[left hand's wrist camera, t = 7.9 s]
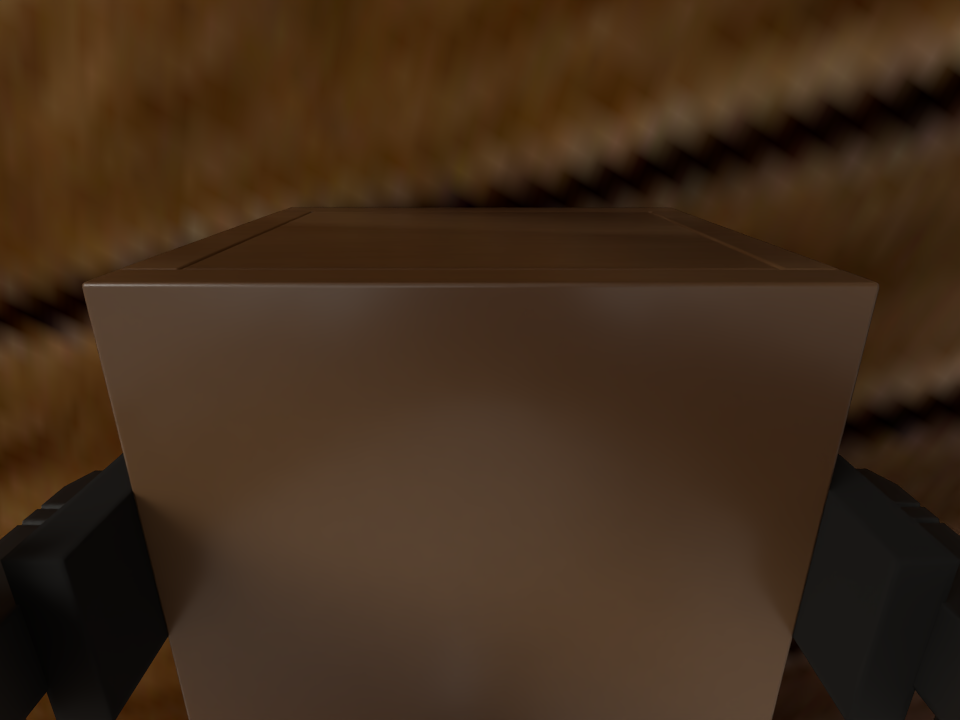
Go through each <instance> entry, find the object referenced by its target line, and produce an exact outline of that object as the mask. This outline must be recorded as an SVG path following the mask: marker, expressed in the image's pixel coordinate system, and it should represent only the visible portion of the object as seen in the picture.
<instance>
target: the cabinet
mask: <svg viewBox="0 0 960 720" xmlns="http://www.w3.org/2000/svg"><path fill="white" fill-rule="evenodd" d="M82 288H83V292H84V296H85V300H86V304H87V309H88V313H89V317H90V321H91V325H92V329H93V333H94V337H95V341H96V345H97V349H98V353H99V357H100V361H101V365H102V369H103V373H104V377H105V381H106V386H107V390H108V394H109V398H110V402H111V406H112V410H113V414H114V418H115V422H116V426H117V430H118V434H119V438H120V442H121V446H122V450H123V454H124V458H125V462H126V467H127V471H128V475H129V479H130V483H131V487H132V491H133V495H134V499H135V503H136V507H137V511H138V515H139V519H140V523H141V527H142V531H143V535H144V539H145V543H146V548H147V552H148V556H149V560H150V564H151V568H152V572H153V576H154V580H155V584H156V588H157V592H158V596H159V600H160V604H161V608H162V612H163V616H164V620H165V625H166V629H167V633H168V637H169V641H170V645H171V649H172V653H173V657H174V661H175V665H176V669H177V673H178V677H179V681H180V685H181V689H182V693H183V697H184V701H185V706H186V710H187V714H188V718H189V720H772V717H773V713H774V709H775V705H776V701H777V697H778V693H779V689H780V685H781V681H782V677H783V673H784V669H785V665H786V661H787V657H788V653H789V649H790V645H791V641H792V637H793V633H794V629H795V625H796V621H797V617H798V613H799V608H800V604H801V600H802V596H803V592H804V588H805V584H806V580H807V576H808V572H809V568H810V564H811V560H812V556H813V552H814V548H815V544H816V540H817V536H818V532H819V528H820V524H821V520H822V516H823V512H824V508H825V504H826V500H827V496H828V492H829V488H830V484H831V480H832V476H833V472H834V468H835V464H836V460H837V456H838V452H839V448H840V444H841V439H842V435H843V431H844V427H845V423H846V419H847V415H848V411H849V407H850V403H851V399H852V395H853V391H854V387H855V383H856V379H857V375H858V371H859V367H860V363H861V359H862V355H863V351H864V347H865V343H866V339H867V335H868V331H869V327H870V323H871V319H872V315H873V311H874V307H875V303H876V299H877V295H878V291H879V284H878V283H876V282H874V281H871V280H869V279H866V278H863V277H860V276H858V275H855V274H852V273H849V272H847V271H844V270H839V269H837V268H834V267H832V266H829V265H826V264H823V263H821V262H818V261H815V260H813V259H810V258H807V257H804V256H802V255H799V254H796V253H793V252H791V251H788V250H785V249H782V248H780V247H777V246H774V245H771V244H769V243H766V242H763V241H760V240H758V239H755V238H752V237H749V236H747V235H744V234H741V233H738V232H736V231H733V230H730V229H727V228H725V227H722V226H719V225H716V224H714V223H711V222H708V221H706V220H703V219H700V218H697V217H695V216H692V215H689V214H686V213H684V212H680V211H678V210H675V209H673V208H288V209H286V210H283V211H279V212H276V213H273V214H271V215H268V216H265V217H262V218H260V219H257V220H254V221H251V222H248V223H246V224H243V225H240V226H237V227H235V228H232V229H229V230H226V231H224V232H221V233H218V234H215V235H212V236H210V237H207V238H204V239H201V240H199V241H196V242H193V243H190V244H188V245H185V246H182V247H179V248H177V249H174V250H171V251H168V252H165V253H163V254H160V255H157V256H154V257H152V258H149V259H146V260H143V261H141V262H138V263H135V264H132V265H129V266H127V267H124V268H122V269H119V270H116V271H114V272H111V273H108V274H105V275H103V276H100V277H97V278H94V279H92V280H89V281H86V282H84V283H83V285H82Z"/></svg>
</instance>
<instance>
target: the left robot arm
mask: <svg viewBox="0 0 960 720" xmlns="http://www.w3.org/2000/svg"><path fill="white" fill-rule="evenodd" d="M167 637H168V633H167V629H166V625H165V620H164V616H163V612H162V608H161V604H160V600H159V596H158V592H157V588H156V584H155V580H154V576H153V572H152V568H151V564H150V560H149V556H148V552H147V548H146V543H145V539H144V535H143V531H142V527H141V523H140V519H139V515H138V511H137V507H136V503H135V499H134V495H133V491H132V487H131V483H130V479H129V475H128V471H127V467H126V462H125V458H124V454H122V455H120V456H119V457H118V458H117V459H116V460H115V461H114V462H112V463H111V464H110V465H109V466H108V467H107V468H105V469H104V470H103V471H94V472H92V473H90V474H88V475H86V476H84V477H82V478H80V479H78V480H76V481H74V482H72V483H70V484H68V485H67V486H65V487H63V488H62V489H61V490H60V491H58V492H57V493H56V494H55V495H54V496H52V497H51V498H50V499H49V500H48V501H46V502H45V503H44V504H43V505H42V508H41V509H37V510H36V511H34V512H33V513H32V514H31V515H29V516H28V517H27V518H26V519H25V520H23V524H22V525H17V526H16V527H15V528H14V529H13V530H11V531H10V532H9V533H8V534H7V535H5V536H4V537H3V538H2V539H1V540H0V720H26V717H27V716H28V715H29V713H30V712H31V711H32V710H33V708H34V707H35V706H36V705H37V703H38V702H39V701H40V699H41V698H42V697H43V696H44V694H45V693H46V692H47V694H48V697H49V700H50V703H51V706H52V709H53V711H54V714H55V717H56V720H116V718H117V716H118V715H119V713H120V712H121V710H122V709H123V707H124V705H125V704H126V702H127V701H128V699H129V697H130V696H131V694H132V693H133V691H134V690H135V688H136V686H137V685H138V683H139V682H140V680H141V678H142V677H143V675H144V674H145V672H146V671H147V669H148V667H149V666H150V664H151V663H152V661H153V659H154V658H155V656H156V655H157V653H158V651H159V650H160V648H161V647H162V645H163V644H164V642H165V640H166V639H167ZM793 638H794V639H795V641H796V643H797V644H798V646H799V647H800V649H801V650H802V652H803V654H804V655H805V657H806V658H807V660H808V662H809V663H810V665H811V666H812V668H813V669H814V671H815V673H816V674H817V676H818V677H819V679H820V681H821V682H822V684H823V685H824V687H825V689H826V690H827V692H828V693H829V695H830V696H831V698H832V700H833V701H834V703H835V704H836V706H837V708H838V709H839V711H840V712H841V714H842V715H843V717H844V719H845V720H904V719H905V717H906V714H907V711H908V708H909V705H910V702H911V700H912V697H913V694H914V691H915V690H916V692H917V693H918V694H919V695H920V697H921V698H922V699H923V700H924V702H925V703H926V704H927V705H928V707H929V708H930V709H931V710H932V712H933V713H934V714H935V718H934V720H960V536H959V535H958V534H956V533H955V532H954V531H953V530H952V529H950V528H949V527H948V526H947V525H946V524H944V523H939V519H938V518H937V517H936V516H935V515H933V514H932V513H931V512H930V511H929V510H927V509H926V508H925V507H920V503H919V502H918V501H916V500H915V499H914V498H913V497H911V496H910V495H909V494H908V493H907V492H905V491H904V490H903V489H902V488H901V487H899V486H898V485H897V484H895V483H893V482H891V481H889V480H887V479H885V478H883V477H881V476H879V475H877V474H875V473H873V472H872V471H870V470H868V469H855V468H854V467H853V466H852V465H851V464H849V463H848V462H847V461H846V460H845V459H844V458H843V457H841V456H840V455H839V454H838V456H837V460H836V464H835V468H834V472H833V476H832V480H831V484H830V488H829V492H828V496H827V500H826V504H825V508H824V512H823V516H822V520H821V524H820V528H819V532H818V536H817V540H816V544H815V548H814V552H813V556H812V560H811V564H810V568H809V572H808V576H807V580H806V584H805V588H804V592H803V596H802V600H801V604H800V608H799V613H798V617H797V621H796V625H795V629H794V633H793Z"/></svg>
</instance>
